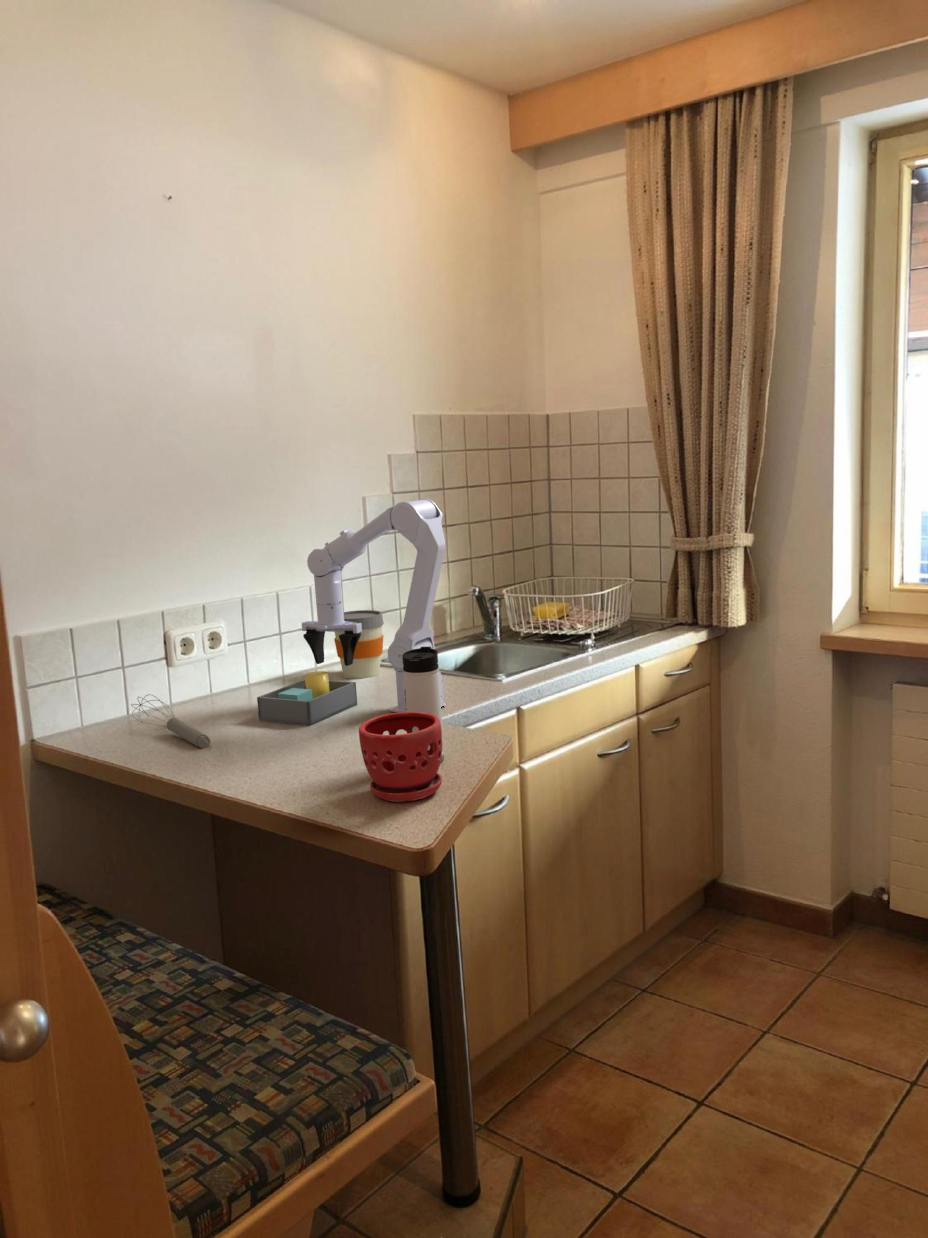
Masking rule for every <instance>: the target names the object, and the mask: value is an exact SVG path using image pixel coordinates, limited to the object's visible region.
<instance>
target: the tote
mask: <svg viewBox="0 0 928 1238" xmlns="http://www.w3.org/2000/svg"><path fill="white" fill-rule="evenodd" d="M291 688H299V689H306V684H305V678H304V679H302V680H299V681H296V682H294V683H291V684H288V685H285V686H283V687H280V688H278V689H275V690H273V691H270V692H268V693H265V694H263V695H260V696H257V698H256V701H257V712H258V721H259V722H260V721H261V722H269V723H281V724H289V725H290V724H291V725H298V726H299V725H300V726H313V725H315V724H317V723H320V722H323V721H324V720H326V719H329V718H331V717H334V716H335V715H337V714H340V713H341V712H344V711H347V710H349V709H350V708H353V707H355V706H357V705H358V696H357V682H355V681H346V680H345V681H343V680H342V681H341V680H332V679H331V680H330V679H329V690H330V692H328V693H326V694H323V695H321V696H319V697H316V698H314V699H311V700H309V701H303V700H291V699H280V698H278V693H281V692H284V691H286V690H289V689H291Z"/></svg>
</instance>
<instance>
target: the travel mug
mask: <svg viewBox="0 0 928 1238" xmlns="http://www.w3.org/2000/svg"><path fill="white" fill-rule="evenodd" d="M402 659H403V665H404V666H403V673H404V674H403V680H404V695H405V710H406V712H424V713H430V714H433V715H435V716H437V717H438V718H439V719H440V723H441V729H442V757H441V763H442V762H443V761H444V759H445V752H444V736H443V735H444V734H443V733H444V731H443V717H442V714H443V713H442V708H441V697H440V680H439V672H438V671H440V668H439V654H438V650H436V648H435V649H431V647H420V648H419V649H413V650H410V651H407V652H405V653H404V654H403V655H402ZM412 730H413V732H417V731H419V729H418V728H417V727H413V729H412ZM428 749H429V750H430V745H429V746H428Z"/></svg>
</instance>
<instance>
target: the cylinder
mask: <svg viewBox="0 0 928 1238" xmlns="http://www.w3.org/2000/svg"><path fill="white" fill-rule="evenodd" d="M329 678H330V677H329V672H328V671H325V670H324V671H323V670H319V671H317V670H316V671H309V672H307V673H305V674H304V679H305V684H306V689H311V690H312V698H313V699H314V698H316V697H319V696H321V695H323V694H326V693H328V692H330V690H329V680H330V679H329Z"/></svg>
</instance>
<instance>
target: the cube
mask: <svg viewBox="0 0 928 1238" xmlns="http://www.w3.org/2000/svg"><path fill="white" fill-rule="evenodd" d="M278 698H280V699H291V700H303V701H309V700H311V699H313V698H312V690H311V689H299V688H291V689H289V690H286V691H284V692H281V693H278Z"/></svg>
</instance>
